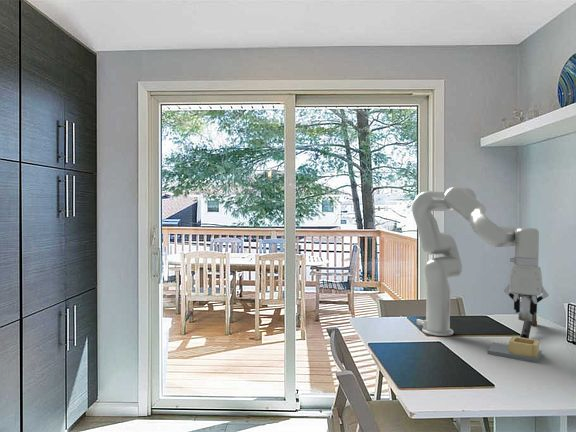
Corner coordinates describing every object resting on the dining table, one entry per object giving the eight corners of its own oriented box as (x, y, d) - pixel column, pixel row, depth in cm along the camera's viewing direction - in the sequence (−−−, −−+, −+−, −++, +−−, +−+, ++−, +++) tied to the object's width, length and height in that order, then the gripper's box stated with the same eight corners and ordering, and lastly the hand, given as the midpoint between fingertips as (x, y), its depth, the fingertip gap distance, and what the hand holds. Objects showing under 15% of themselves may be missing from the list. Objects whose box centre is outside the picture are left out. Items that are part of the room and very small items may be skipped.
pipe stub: (517, 320, 159) (517, 294, 159) (519, 317, 163) (519, 293, 163) (531, 321, 157) (531, 296, 157) (532, 319, 160) (533, 294, 160)
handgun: (530, 364, 181) (529, 332, 176) (520, 362, 183) (519, 331, 178) (538, 322, 204) (538, 293, 199) (529, 320, 206) (528, 292, 202)
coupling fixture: (487, 353, 162) (487, 339, 162) (494, 345, 171) (494, 332, 171) (537, 362, 152) (538, 347, 152) (541, 353, 162) (542, 339, 162)
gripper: (498, 261, 161) (497, 311, 162) (552, 265, 152) (551, 318, 152) (502, 259, 168) (501, 308, 168) (554, 263, 158) (553, 314, 158)
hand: (525, 312), depth 160 cm, fingers closed on pipe stub, 4 cm apart
